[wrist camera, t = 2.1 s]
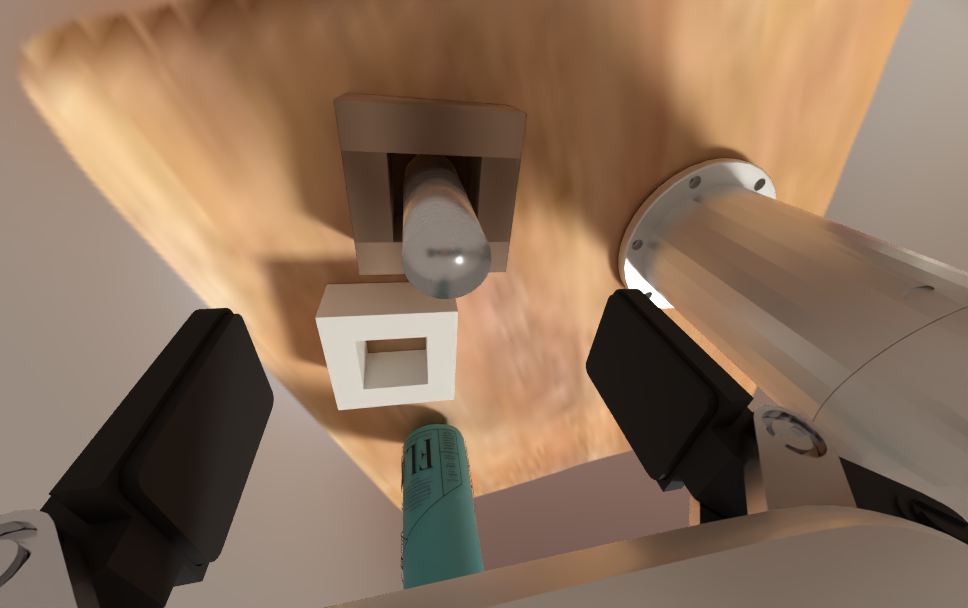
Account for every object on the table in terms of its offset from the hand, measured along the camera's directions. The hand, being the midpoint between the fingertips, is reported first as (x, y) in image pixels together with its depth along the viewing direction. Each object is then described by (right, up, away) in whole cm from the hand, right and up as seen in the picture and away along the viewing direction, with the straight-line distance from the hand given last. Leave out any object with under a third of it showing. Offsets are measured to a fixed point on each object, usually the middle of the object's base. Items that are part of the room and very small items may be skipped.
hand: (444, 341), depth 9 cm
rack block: (-6, -1, +19) cm, 20 cm away
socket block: (-2, +9, +13) cm, 16 cm away
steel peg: (-2, +9, +13) cm, 16 cm away
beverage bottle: (-4, -12, +28) cm, 31 cm away
